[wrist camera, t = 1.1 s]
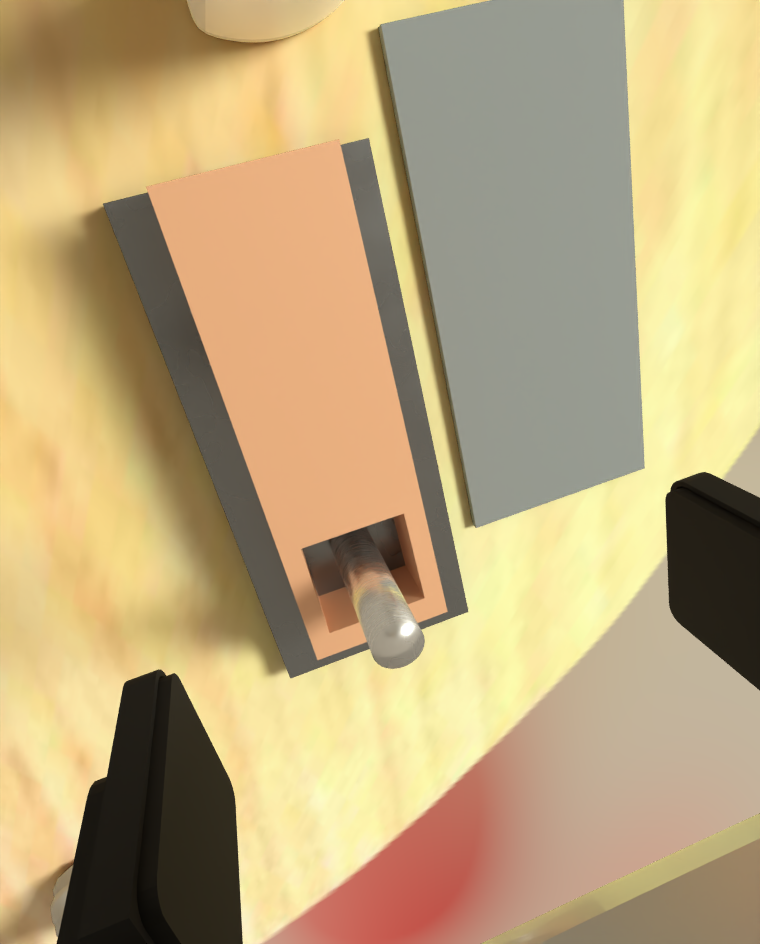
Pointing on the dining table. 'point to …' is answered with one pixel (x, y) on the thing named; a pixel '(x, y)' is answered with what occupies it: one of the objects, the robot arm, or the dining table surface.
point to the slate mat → (526, 238)
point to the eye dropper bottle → (259, 17)
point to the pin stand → (331, 561)
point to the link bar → (302, 366)
